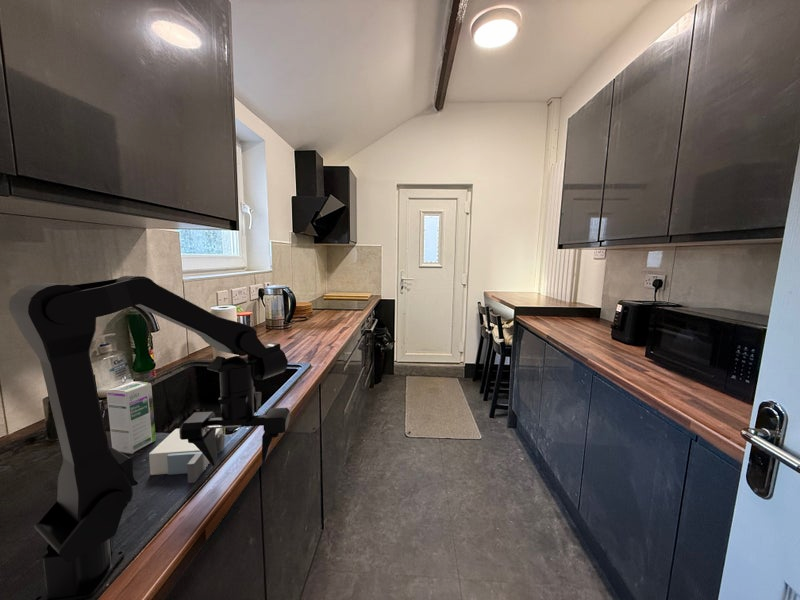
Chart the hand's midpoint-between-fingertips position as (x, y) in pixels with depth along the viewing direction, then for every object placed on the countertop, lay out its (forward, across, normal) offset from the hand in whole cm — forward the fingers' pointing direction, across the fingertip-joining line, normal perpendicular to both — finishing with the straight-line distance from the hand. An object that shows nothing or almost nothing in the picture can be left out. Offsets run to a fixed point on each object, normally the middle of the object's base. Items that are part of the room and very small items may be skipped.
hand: (239, 463), depth 63 cm
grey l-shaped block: (+3, +11, -1) cm, 11 cm away
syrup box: (+3, +28, -15) cm, 32 cm away
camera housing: (+3, +13, -8) cm, 16 cm away
